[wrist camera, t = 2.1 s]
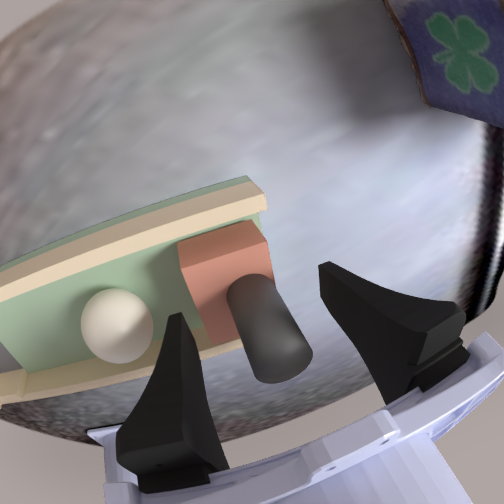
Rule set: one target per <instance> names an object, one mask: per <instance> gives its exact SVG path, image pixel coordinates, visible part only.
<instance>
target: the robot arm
mask: <svg viewBox="0 0 504 504" xmlns="http://www.w3.org/2000/svg"><path fill="white" fill-rule="evenodd" d="M318 268H319V282H320V297H321V298H322V300H323V302H324V304H325V306H326V307H327V309H328V311H329V312H330V314H331V315H332V316H333V318H334V319H335V320H336V322H337V323H338V324H339V326H340V327H341V328H342V330H343V331H344V332H345V333H346V335H347V336H348V337H349V339H350V340H351V341H352V343H353V344H354V345H355V347H356V348H357V350H358V352H359V353H360V355H361V357H362V359H363V360H364V362H365V364H366V366H367V367H368V369H369V371H370V373H371V375H372V377H373V379H374V381H375V383H376V385H377V387H378V389H379V391H380V393H381V395H382V397H383V400H384V402H385V404H386V406H384V407H383V408H381V409H379V410H377V411H375V412H373V413H372V414H369V415H367V416H365V417H363V418H361V419H359V420H357V421H355V422H354V423H351V424H349V425H347V426H345V427H343V428H341V429H338V430H336V431H334V432H332V433H330V434H327V435H325V436H323V437H320V438H319V439H316V440H314V441H312V442H309V443H307V444H304V445H302V446H299V447H296V448H294V449H291V450H288V451H286V452H283V453H280V454H277V455H275V456H271V457H269V458H265V459H262V460H259V461H256V462H253V463H250V464H246V465H243V466H239V467H236V468H232V469H230V468H229V465H228V462H227V460H226V457H225V455H224V452H223V449H222V446H221V444H220V441H219V438H218V435H217V432H216V429H215V426H214V423H213V419H212V416H211V413H210V409H209V406H208V402H207V397H206V391H205V385H204V379H203V373H202V367H201V360H200V356H199V352H198V349H197V345H196V341H195V339H194V337H193V335H192V333H191V331H190V329H189V327H188V324H187V322H186V320H185V318H184V316H183V314H182V312H179V313H176V314H172V315H169V317H168V320H167V325H166V330H165V334H164V338H163V342H162V345H161V349H160V352H159V355H158V358H157V361H156V364H155V367H154V370H153V372H152V375H151V377H150V379H149V382H148V384H147V386H146V388H145V390H144V392H143V394H142V396H141V398H140V399H139V401H138V403H137V404H136V406H135V407H134V409H133V411H132V412H131V414H130V415H129V417H128V418H127V419H126V421H125V422H124V423H123V424H122V425H116V426H111V427H105V428H98V429H92V430H88V431H87V435H88V436H90V437H91V438H92V439H94V440H95V441H97V442H98V443H99V444H101V445H102V446H104V459H105V474H106V483H104V484H103V486H104V497H105V504H473V503H472V501H471V500H470V498H469V496H468V495H467V493H466V492H465V490H464V489H463V487H462V486H461V484H460V482H459V481H458V479H457V478H456V476H455V475H454V473H453V472H452V470H451V469H450V467H449V466H448V464H447V462H446V461H445V459H444V458H443V456H442V455H441V454H440V452H439V451H438V449H437V448H436V446H435V445H434V443H433V442H435V441H436V440H437V439H439V438H440V437H441V436H443V435H444V434H445V433H446V432H447V431H449V430H450V429H451V428H453V427H454V426H455V425H456V424H457V423H458V422H460V421H461V420H462V419H463V418H464V417H465V416H467V415H468V414H469V413H470V412H471V411H472V410H473V409H475V408H476V407H477V406H478V405H479V404H480V403H481V402H482V401H483V400H484V399H486V398H487V396H489V395H490V394H491V393H492V392H493V391H494V390H495V389H496V388H497V386H498V385H499V384H500V382H501V381H502V380H503V378H504V349H503V348H502V347H501V346H500V345H499V344H498V343H497V342H496V341H495V340H494V339H493V338H492V337H491V336H490V335H489V334H488V333H487V332H483V333H482V334H481V335H480V336H478V337H477V338H476V339H475V340H474V341H472V342H471V344H470V345H469V346H468V348H467V350H466V349H465V348H464V347H463V346H462V344H463V340H462V339H461V338H460V337H459V336H460V334H461V331H462V329H463V326H464V324H465V321H466V314H465V312H464V311H463V310H462V309H461V308H460V307H459V306H458V305H457V304H455V303H454V302H451V301H437V300H430V299H423V298H418V297H414V296H410V295H406V294H402V293H398V292H395V291H392V290H389V289H387V288H384V287H381V286H379V285H377V284H374V283H372V282H370V281H367V280H365V279H363V278H361V277H359V276H357V275H355V274H353V273H351V272H349V271H347V270H346V269H344V268H342V267H340V266H338V265H336V264H334V263H332V262H330V261H328V262H325V263H323V264H320V265H318Z"/></svg>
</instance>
